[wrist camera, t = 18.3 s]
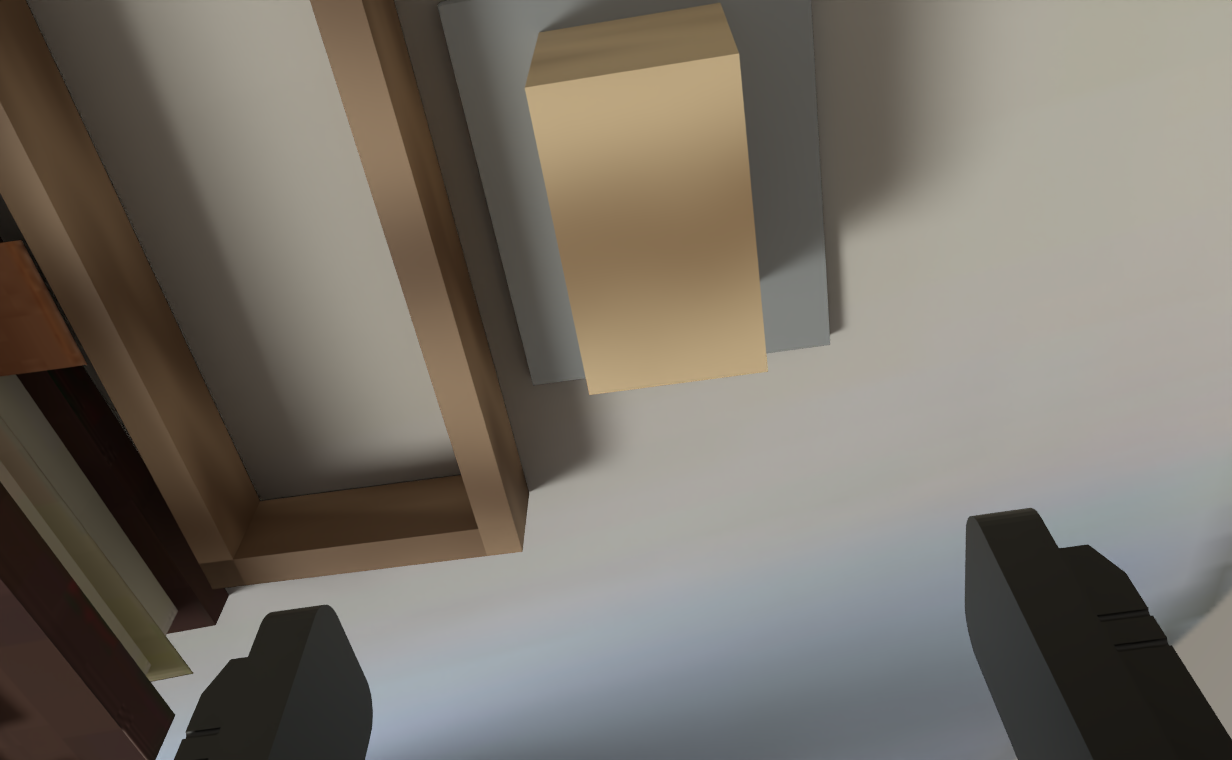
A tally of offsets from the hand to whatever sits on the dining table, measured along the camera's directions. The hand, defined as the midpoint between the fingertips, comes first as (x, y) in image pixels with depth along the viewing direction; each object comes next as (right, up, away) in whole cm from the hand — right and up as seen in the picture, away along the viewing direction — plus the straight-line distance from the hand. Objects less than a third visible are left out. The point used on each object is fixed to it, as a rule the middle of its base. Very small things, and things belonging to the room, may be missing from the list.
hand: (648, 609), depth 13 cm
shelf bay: (-9, +6, +13) cm, 17 cm away
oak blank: (0, +8, +11) cm, 14 cm away
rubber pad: (+1, +8, +12) cm, 14 cm away
